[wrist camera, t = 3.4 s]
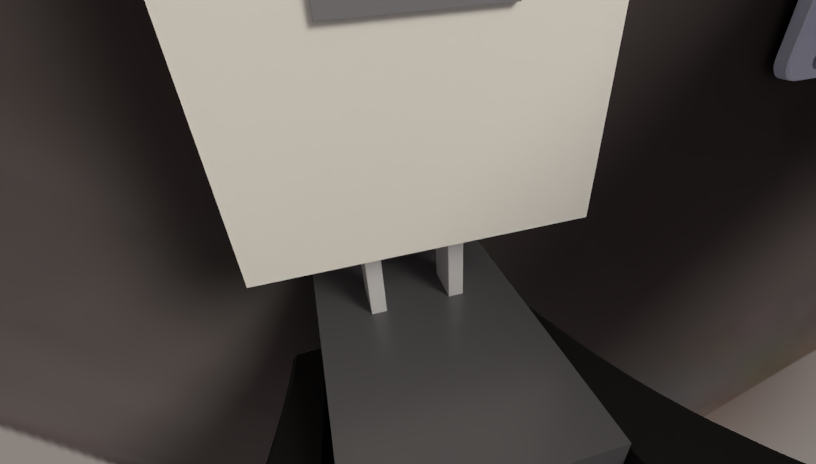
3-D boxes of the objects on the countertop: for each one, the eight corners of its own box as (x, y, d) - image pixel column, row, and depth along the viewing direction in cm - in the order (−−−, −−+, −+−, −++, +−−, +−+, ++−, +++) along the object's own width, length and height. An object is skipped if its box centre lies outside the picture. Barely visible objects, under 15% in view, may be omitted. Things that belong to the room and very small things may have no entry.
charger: (471, 156, 9) (671, 342, 5) (467, 352, 13) (579, 571, 8) (293, 186, 9) (312, 444, 4) (340, 385, 12) (380, 649, 7)
